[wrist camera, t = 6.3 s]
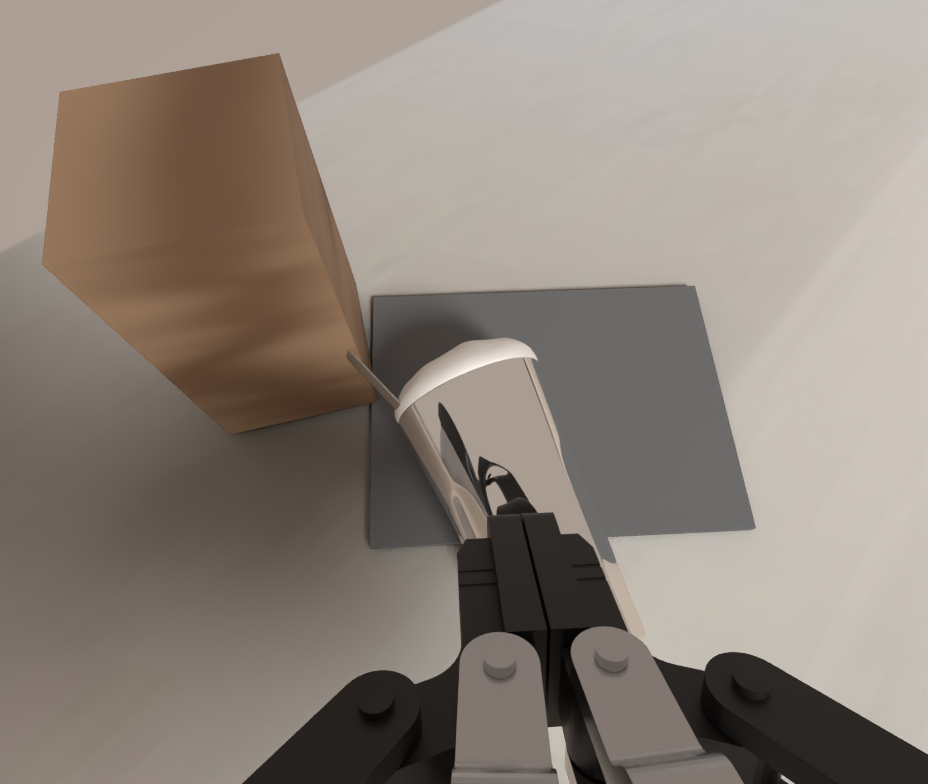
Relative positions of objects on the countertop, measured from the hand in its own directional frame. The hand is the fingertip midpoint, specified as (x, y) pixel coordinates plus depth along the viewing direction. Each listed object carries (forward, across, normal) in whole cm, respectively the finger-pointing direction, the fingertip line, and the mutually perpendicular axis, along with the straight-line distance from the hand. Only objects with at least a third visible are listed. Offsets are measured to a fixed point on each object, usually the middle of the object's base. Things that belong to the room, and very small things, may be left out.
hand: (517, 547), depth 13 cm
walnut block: (+9, +7, -2) cm, 11 cm away
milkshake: (0, -2, +4) cm, 4 cm away
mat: (+7, -2, 0) cm, 7 cm away
